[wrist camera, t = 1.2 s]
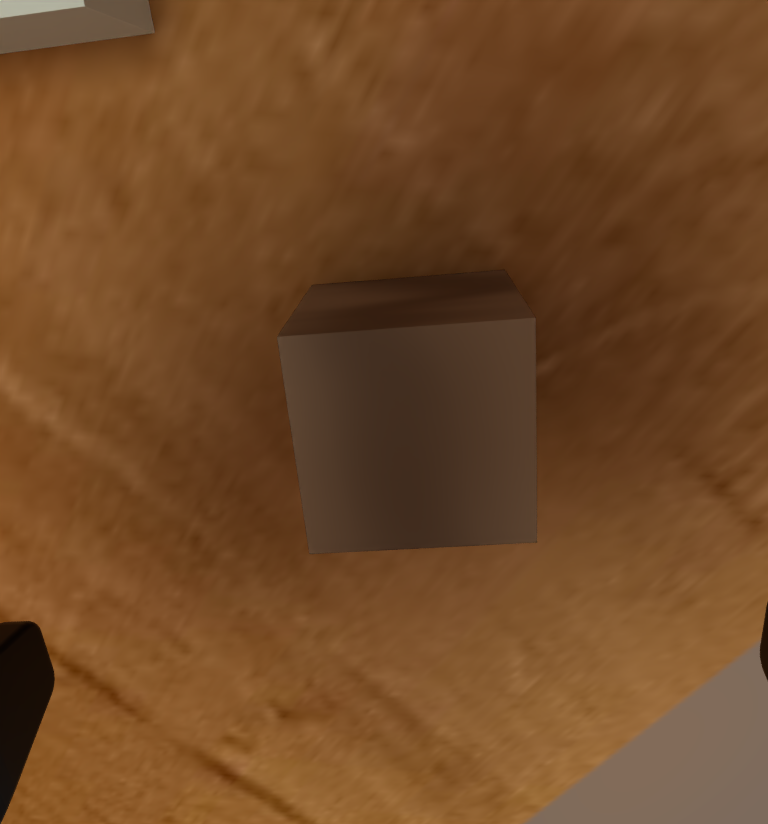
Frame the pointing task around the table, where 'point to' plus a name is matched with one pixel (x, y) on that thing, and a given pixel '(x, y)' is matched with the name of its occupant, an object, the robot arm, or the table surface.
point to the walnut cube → (413, 412)
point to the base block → (69, 22)
